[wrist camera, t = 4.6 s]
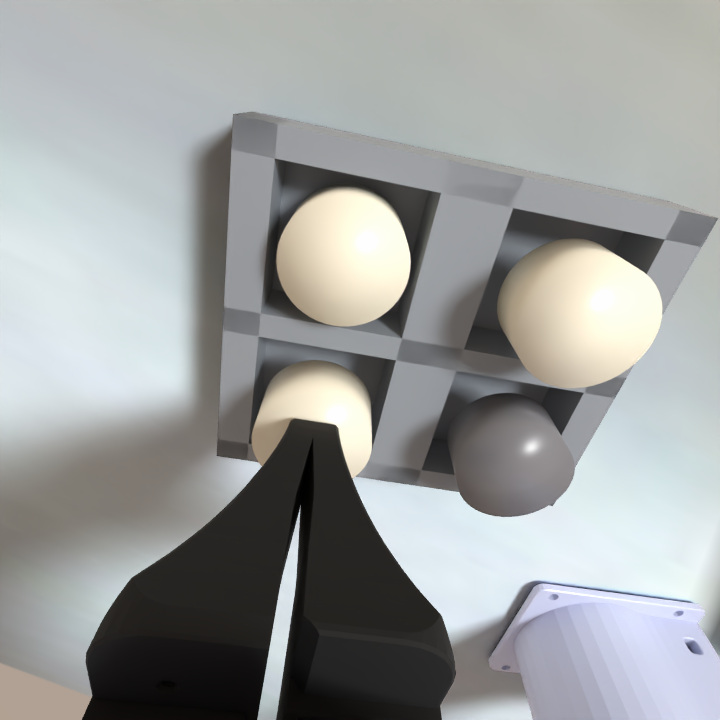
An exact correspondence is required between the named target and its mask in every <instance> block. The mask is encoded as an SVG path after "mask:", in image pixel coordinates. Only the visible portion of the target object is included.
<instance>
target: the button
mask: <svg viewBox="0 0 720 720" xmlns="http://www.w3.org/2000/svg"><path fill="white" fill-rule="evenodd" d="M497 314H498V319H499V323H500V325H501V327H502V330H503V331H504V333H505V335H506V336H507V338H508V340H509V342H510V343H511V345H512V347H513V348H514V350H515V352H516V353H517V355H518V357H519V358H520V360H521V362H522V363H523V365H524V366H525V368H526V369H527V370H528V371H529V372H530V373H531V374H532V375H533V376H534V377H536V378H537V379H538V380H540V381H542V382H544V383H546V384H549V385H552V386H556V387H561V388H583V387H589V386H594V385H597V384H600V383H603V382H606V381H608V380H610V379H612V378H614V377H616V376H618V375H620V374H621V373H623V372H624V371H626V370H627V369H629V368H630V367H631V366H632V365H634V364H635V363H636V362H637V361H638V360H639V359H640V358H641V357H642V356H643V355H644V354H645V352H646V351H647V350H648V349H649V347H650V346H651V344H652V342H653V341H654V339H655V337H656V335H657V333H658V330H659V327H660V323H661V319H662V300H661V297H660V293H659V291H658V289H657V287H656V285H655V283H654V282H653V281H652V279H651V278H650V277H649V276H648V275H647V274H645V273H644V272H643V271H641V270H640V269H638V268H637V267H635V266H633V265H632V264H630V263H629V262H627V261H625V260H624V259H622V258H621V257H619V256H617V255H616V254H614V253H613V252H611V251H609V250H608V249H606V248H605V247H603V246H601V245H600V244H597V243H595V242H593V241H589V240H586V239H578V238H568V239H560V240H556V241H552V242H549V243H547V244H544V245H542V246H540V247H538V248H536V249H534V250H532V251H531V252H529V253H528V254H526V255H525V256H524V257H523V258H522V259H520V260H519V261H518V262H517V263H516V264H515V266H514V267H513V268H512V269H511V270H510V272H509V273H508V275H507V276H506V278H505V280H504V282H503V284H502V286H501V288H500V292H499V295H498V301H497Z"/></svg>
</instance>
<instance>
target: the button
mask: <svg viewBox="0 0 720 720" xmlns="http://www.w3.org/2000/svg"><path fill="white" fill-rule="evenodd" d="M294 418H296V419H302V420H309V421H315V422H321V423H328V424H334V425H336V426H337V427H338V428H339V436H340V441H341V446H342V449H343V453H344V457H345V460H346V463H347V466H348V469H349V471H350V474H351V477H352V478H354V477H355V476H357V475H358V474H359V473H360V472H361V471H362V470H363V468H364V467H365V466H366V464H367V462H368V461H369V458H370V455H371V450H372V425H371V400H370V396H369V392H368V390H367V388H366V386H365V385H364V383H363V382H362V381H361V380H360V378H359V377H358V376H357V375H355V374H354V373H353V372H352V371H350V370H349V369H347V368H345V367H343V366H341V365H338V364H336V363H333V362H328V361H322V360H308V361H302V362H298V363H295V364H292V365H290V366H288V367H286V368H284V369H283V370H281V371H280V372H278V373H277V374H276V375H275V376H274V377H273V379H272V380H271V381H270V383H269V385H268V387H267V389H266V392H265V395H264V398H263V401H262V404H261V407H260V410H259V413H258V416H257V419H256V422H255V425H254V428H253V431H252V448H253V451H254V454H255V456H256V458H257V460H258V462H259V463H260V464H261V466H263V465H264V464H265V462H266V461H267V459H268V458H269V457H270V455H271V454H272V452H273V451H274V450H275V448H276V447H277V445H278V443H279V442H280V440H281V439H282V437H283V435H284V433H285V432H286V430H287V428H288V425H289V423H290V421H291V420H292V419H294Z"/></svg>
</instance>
